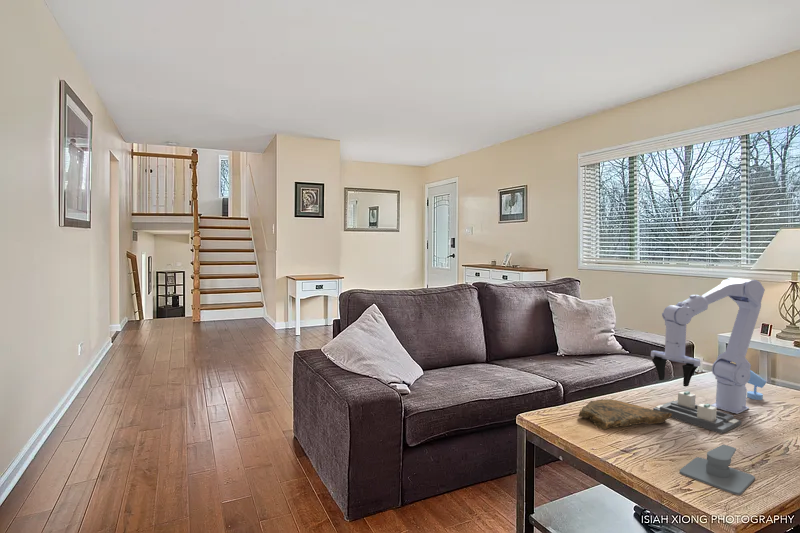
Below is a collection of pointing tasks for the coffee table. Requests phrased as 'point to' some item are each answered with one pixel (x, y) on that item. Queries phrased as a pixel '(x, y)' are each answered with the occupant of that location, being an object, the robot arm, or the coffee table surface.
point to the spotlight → (755, 381)
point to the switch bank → (690, 416)
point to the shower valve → (718, 471)
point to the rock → (620, 414)
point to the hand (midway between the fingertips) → (673, 382)
